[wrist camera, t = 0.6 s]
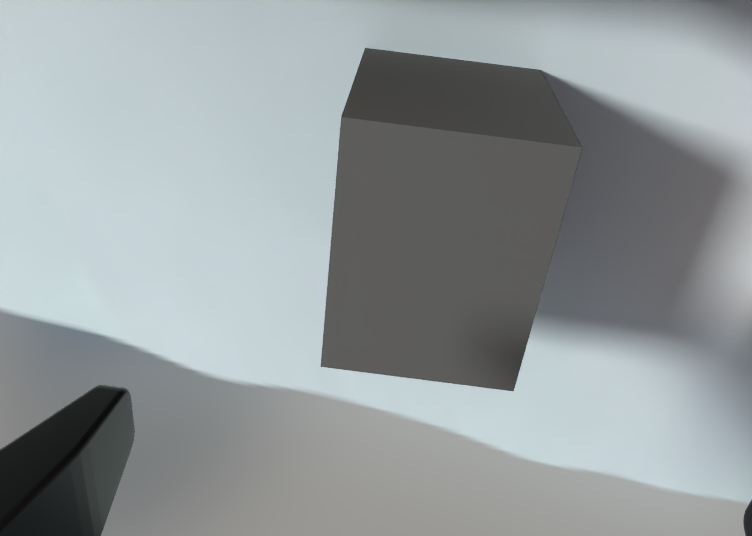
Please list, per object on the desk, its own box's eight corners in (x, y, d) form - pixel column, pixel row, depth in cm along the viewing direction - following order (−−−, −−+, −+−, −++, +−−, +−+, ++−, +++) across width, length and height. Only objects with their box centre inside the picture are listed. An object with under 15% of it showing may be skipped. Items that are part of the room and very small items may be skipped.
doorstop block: (365, 47, 17) (341, 117, 12) (540, 69, 17) (582, 147, 12) (346, 249, 20) (320, 366, 16) (494, 268, 20) (513, 391, 16)
